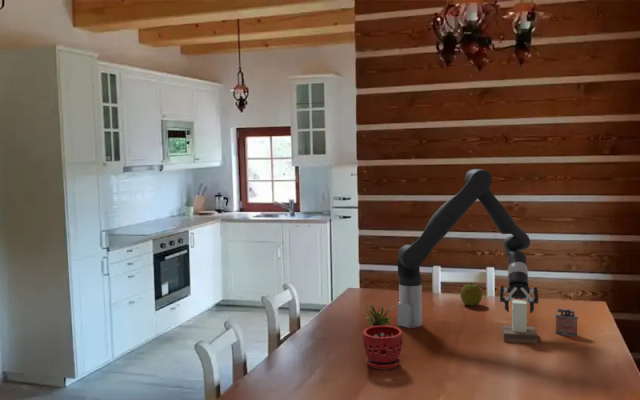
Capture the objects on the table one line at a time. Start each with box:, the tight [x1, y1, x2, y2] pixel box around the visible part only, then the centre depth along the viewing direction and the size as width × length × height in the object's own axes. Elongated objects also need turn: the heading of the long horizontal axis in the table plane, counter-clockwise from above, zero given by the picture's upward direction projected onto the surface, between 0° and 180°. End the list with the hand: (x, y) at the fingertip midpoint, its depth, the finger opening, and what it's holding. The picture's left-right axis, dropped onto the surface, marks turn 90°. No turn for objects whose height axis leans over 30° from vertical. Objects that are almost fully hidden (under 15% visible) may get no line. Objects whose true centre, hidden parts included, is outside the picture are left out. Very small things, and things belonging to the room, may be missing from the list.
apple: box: [460, 281, 483, 307], centre depth 284 cm, size 10×10×11 cm
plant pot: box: [362, 325, 403, 370], centre depth 206 cm, size 13×13×12 cm
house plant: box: [360, 301, 396, 337], centre depth 228 cm, size 14×14×16 cm
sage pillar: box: [511, 299, 528, 332], centre depth 234 cm, size 5×5×11 cm
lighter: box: [554, 308, 579, 337], centre depth 237 cm, size 8×3×10 cm, turn 65°
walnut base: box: [501, 324, 538, 344], centre depth 234 cm, size 12×12×3 cm
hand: (519, 311), depth 235 cm, fingers open, 8 cm apart
